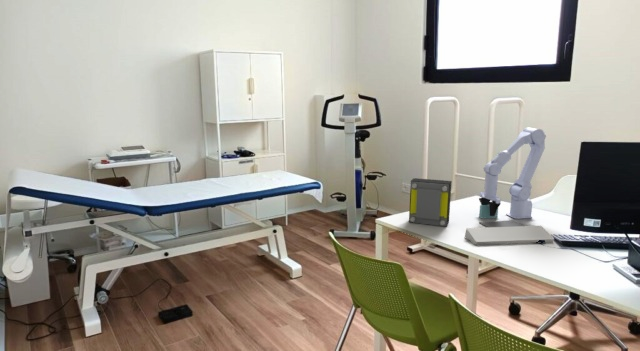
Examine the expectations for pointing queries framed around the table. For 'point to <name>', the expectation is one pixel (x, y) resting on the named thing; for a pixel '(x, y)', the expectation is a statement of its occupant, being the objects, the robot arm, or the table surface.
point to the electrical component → (430, 201)
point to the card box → (486, 212)
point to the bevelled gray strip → (507, 235)
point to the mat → (501, 223)
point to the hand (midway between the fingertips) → (488, 214)
